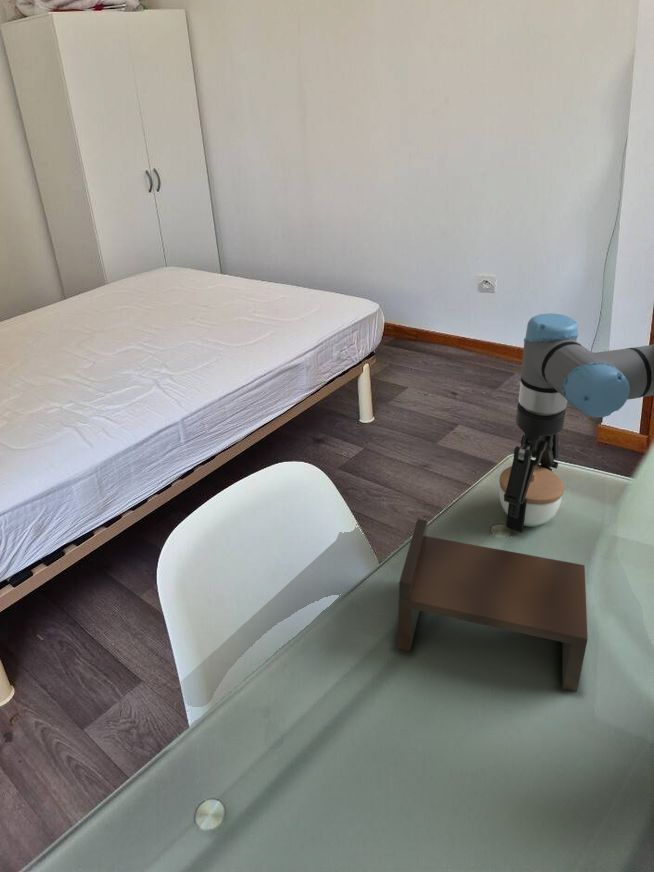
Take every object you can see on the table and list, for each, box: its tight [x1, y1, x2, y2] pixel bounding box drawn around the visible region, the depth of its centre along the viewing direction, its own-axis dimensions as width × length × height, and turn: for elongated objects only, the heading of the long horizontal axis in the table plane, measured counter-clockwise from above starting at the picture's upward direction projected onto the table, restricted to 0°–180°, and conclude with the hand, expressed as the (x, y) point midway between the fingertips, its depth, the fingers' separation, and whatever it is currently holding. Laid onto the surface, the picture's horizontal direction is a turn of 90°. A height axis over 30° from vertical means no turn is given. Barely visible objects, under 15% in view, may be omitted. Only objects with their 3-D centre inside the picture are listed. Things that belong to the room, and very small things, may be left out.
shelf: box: [396, 518, 589, 693], centre depth 98 cm, size 24×14×13 cm, turn 70°
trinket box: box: [498, 465, 565, 527], centre depth 122 cm, size 11×11×9 cm
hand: (527, 512), depth 123 cm, fingers closed on trinket box, 11 cm apart
